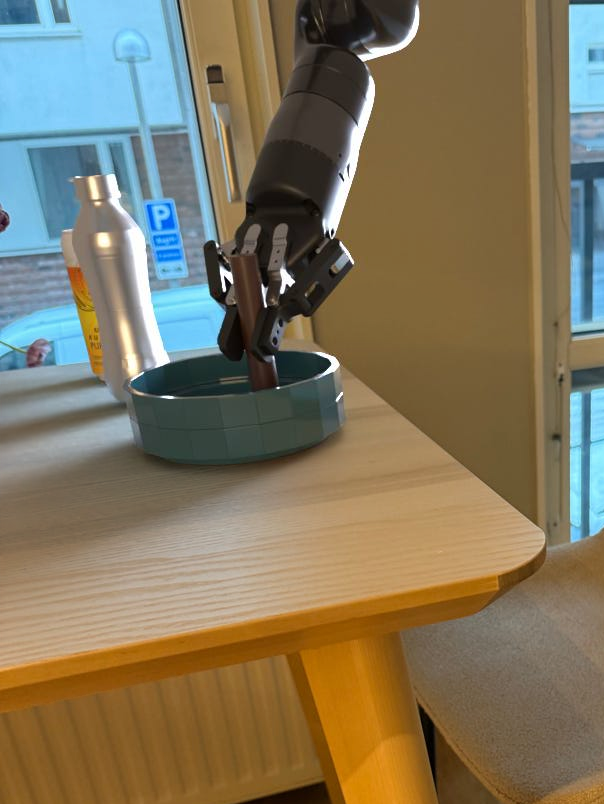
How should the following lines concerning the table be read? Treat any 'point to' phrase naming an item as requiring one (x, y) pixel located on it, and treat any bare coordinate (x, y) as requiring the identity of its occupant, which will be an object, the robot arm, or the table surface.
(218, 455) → the bowl
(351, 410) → the table surface
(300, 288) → the robot arm
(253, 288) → the brown rod on disc
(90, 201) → the silver bottle
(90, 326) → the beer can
